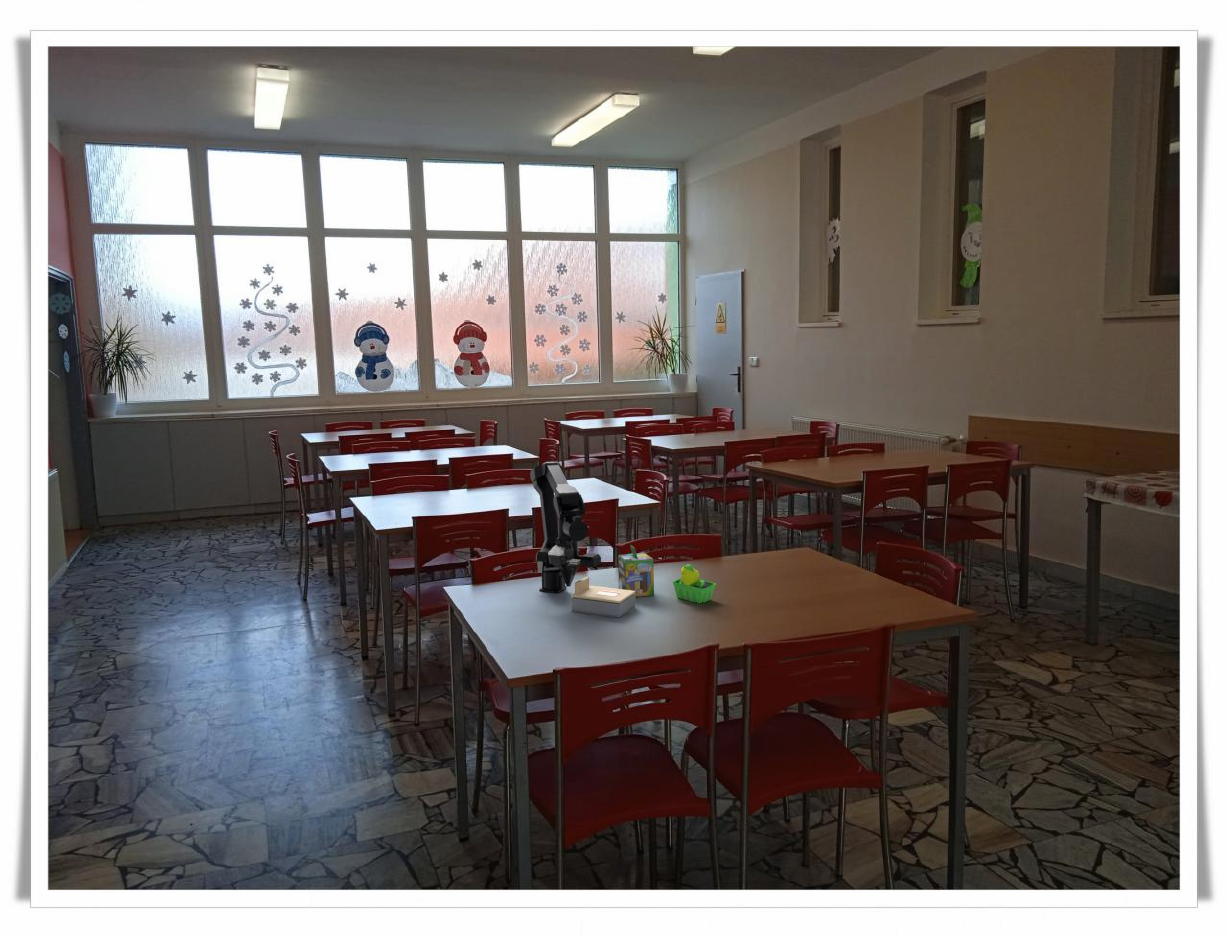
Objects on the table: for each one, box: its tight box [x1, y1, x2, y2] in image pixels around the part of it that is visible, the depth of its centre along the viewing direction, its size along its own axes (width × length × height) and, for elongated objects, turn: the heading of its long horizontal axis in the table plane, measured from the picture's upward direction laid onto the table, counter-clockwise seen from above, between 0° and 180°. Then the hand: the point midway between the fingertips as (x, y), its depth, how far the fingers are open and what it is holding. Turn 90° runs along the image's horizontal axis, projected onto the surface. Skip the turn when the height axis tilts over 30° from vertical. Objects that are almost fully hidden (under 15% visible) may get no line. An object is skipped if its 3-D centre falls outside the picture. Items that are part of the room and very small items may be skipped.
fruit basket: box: [672, 563, 717, 604], centre depth 253 cm, size 11×9×11 cm
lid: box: [571, 576, 635, 603], centre depth 243 cm, size 15×11×4 cm
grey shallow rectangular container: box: [571, 594, 636, 619], centre depth 243 cm, size 15×11×4 cm
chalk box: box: [617, 544, 655, 598], centre depth 259 cm, size 9×9×15 cm
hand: (568, 586), depth 247 cm, fingers closed
